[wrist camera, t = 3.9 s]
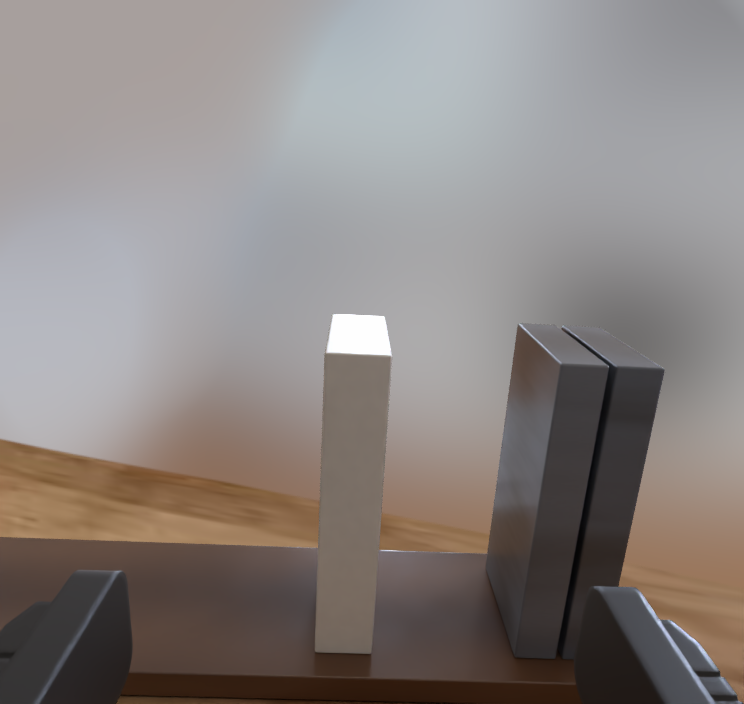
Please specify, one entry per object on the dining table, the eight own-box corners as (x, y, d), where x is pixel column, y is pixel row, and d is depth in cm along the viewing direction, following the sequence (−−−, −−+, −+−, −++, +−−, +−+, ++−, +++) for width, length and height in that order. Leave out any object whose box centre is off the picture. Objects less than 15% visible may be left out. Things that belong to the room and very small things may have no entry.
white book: (371, 655, 20) (392, 355, 17) (314, 653, 20) (324, 352, 17) (369, 563, 25) (384, 315, 22) (322, 562, 25) (332, 313, 22)
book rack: (616, 708, 20) (692, 380, 17) (-194, 688, 19) (-297, 334, 16) (552, 574, 27) (596, 320, 23) (-51, 554, 26) (-99, 286, 22)
